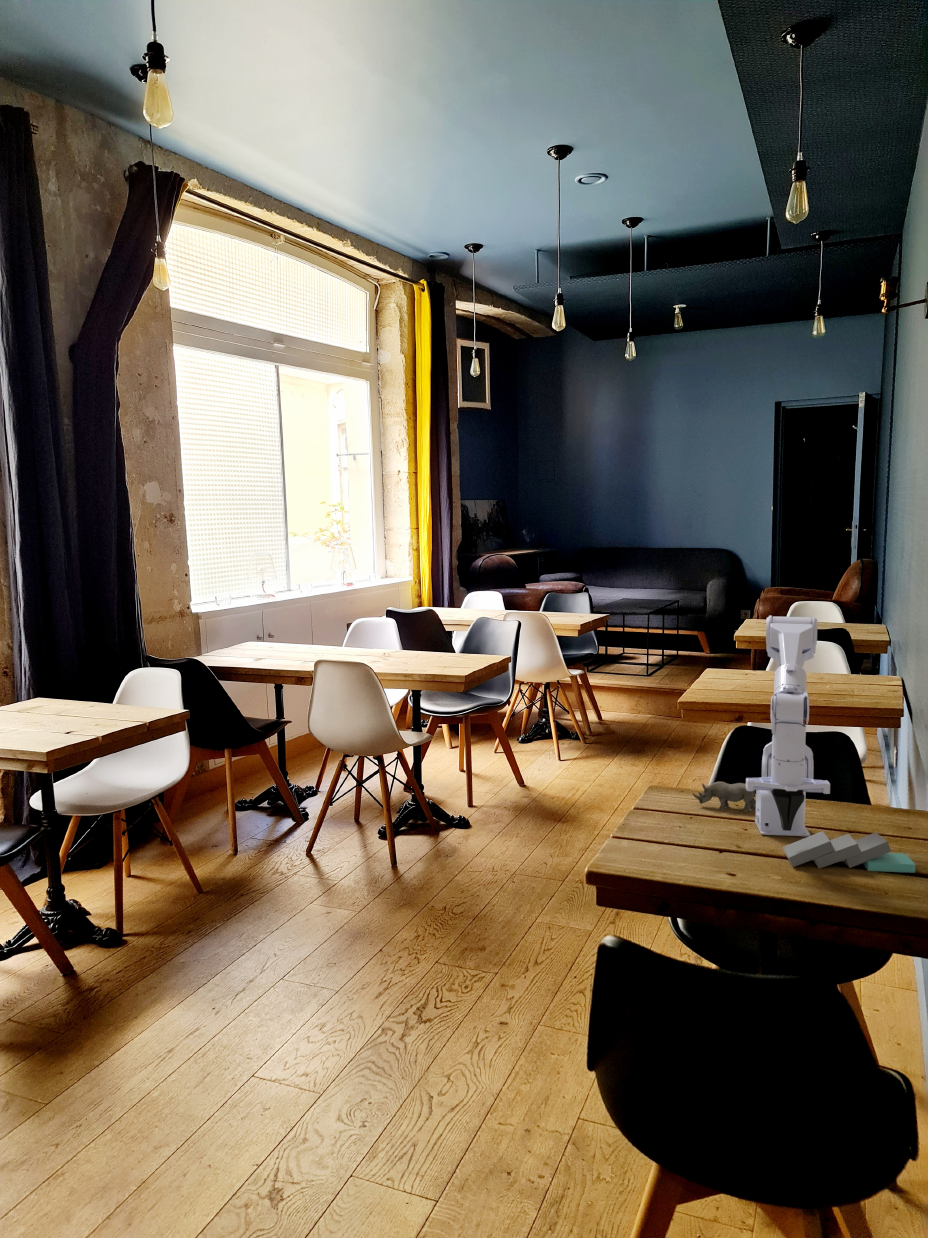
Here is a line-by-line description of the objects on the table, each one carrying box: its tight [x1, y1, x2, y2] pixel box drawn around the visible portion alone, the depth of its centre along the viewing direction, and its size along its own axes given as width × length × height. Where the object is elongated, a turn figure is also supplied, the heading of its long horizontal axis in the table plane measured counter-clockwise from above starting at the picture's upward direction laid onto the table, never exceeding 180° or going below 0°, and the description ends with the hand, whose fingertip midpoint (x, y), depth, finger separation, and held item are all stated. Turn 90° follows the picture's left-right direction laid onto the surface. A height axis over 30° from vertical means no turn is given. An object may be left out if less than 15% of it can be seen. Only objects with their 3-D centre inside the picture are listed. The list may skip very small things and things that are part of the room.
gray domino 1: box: [781, 830, 835, 868], centre depth 159 cm, size 2×5×8 cm
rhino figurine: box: [692, 781, 756, 813], centre depth 189 cm, size 4×14×6 cm, turn 75°
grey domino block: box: [842, 831, 892, 869], centre depth 158 cm, size 2×5×8 cm
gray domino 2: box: [812, 833, 861, 869], centre depth 158 cm, size 2×5×8 cm
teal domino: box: [862, 852, 916, 874], centre depth 157 cm, size 2×5×8 cm
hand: (786, 828), depth 159 cm, fingers closed
